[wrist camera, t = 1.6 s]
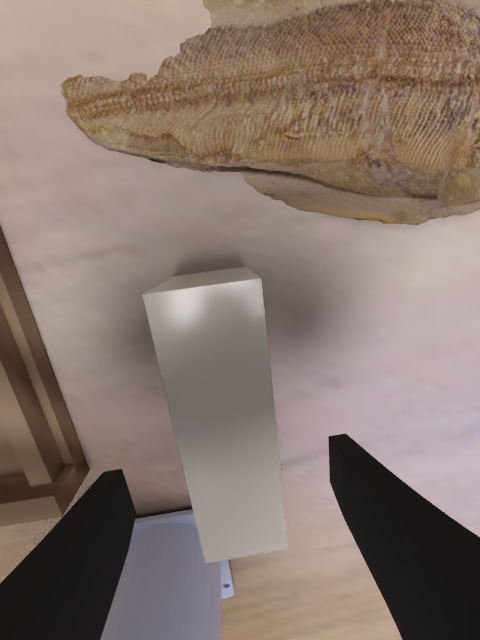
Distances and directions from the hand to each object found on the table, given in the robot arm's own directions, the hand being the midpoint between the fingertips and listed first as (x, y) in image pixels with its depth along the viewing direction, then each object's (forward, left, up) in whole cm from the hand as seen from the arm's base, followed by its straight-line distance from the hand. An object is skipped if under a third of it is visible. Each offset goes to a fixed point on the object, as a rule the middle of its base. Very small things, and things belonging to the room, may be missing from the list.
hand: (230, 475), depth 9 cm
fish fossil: (+14, -7, -8) cm, 17 cm away
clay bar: (0, 0, -8) cm, 8 cm away
